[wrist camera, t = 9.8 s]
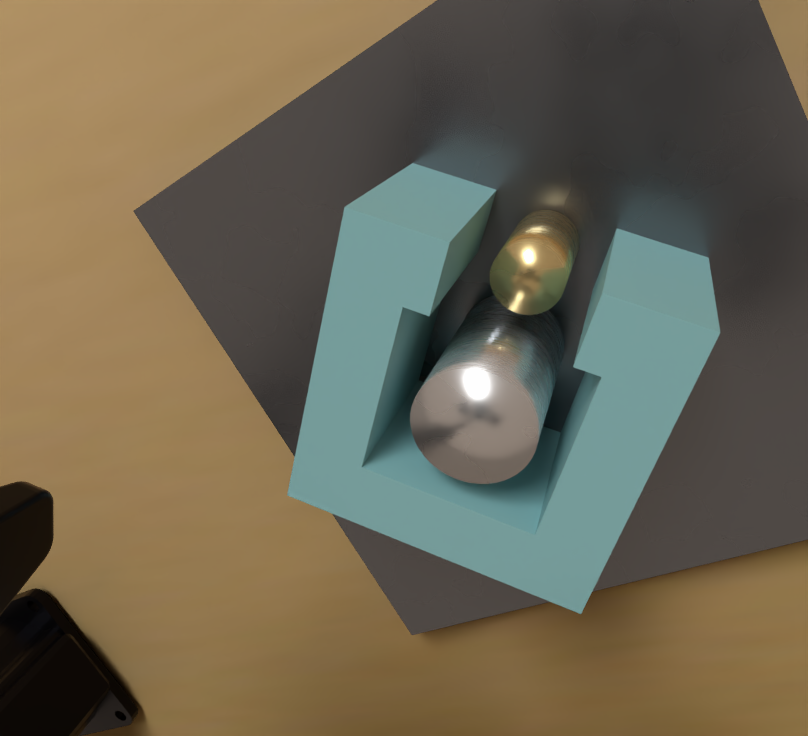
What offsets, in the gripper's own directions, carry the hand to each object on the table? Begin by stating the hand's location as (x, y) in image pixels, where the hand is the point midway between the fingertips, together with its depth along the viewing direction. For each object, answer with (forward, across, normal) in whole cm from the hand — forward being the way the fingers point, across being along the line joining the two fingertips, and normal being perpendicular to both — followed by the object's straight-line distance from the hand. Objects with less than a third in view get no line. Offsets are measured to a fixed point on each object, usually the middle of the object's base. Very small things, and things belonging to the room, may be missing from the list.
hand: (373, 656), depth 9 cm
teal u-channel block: (+10, 0, 0) cm, 10 cm away
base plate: (+11, 0, 0) cm, 11 cm away
